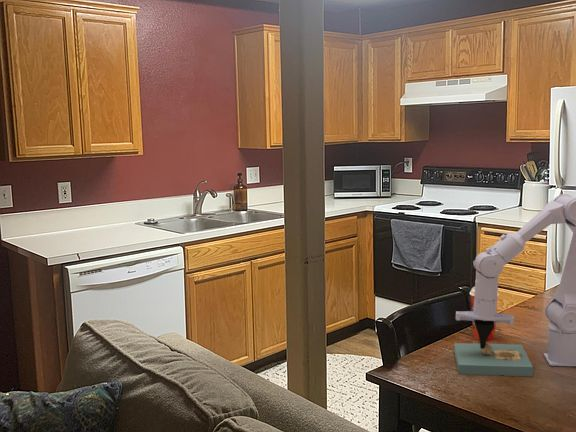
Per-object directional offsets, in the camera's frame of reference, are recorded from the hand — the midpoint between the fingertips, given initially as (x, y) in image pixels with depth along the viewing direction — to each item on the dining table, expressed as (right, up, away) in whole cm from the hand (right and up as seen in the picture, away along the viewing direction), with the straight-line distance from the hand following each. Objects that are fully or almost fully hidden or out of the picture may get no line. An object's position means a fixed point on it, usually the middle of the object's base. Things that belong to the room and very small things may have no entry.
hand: (482, 347), depth 164 cm
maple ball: (+1, 0, 0) cm, 1 cm away
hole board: (+2, -4, 0) cm, 5 cm away
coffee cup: (+7, -2, +20) cm, 21 cm away
